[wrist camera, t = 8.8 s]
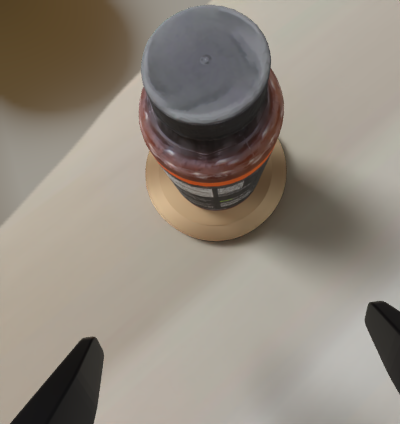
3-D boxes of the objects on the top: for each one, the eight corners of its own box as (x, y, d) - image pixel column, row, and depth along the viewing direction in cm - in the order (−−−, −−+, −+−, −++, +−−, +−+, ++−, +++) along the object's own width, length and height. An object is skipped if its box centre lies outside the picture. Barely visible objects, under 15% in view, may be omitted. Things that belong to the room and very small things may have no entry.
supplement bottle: (213, 115, 20) (202, -61, 9) (276, 167, 19) (354, 44, 8) (157, 174, 20) (70, 69, 8) (218, 231, 19) (211, 196, 7)
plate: (293, 233, 19) (297, 232, 18) (153, 247, 20) (149, 247, 19) (273, 103, 21) (275, 94, 20) (144, 120, 22) (140, 113, 20)
